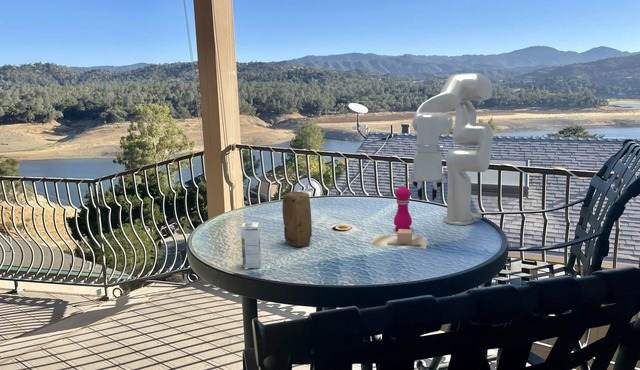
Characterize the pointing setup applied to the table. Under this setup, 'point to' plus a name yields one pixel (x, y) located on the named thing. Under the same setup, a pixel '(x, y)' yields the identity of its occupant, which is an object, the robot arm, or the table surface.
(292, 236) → the block
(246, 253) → the syrup box
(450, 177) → the robot arm
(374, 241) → the board
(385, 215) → the table surface
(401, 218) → the pepper mill
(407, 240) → the block
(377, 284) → the table surface
